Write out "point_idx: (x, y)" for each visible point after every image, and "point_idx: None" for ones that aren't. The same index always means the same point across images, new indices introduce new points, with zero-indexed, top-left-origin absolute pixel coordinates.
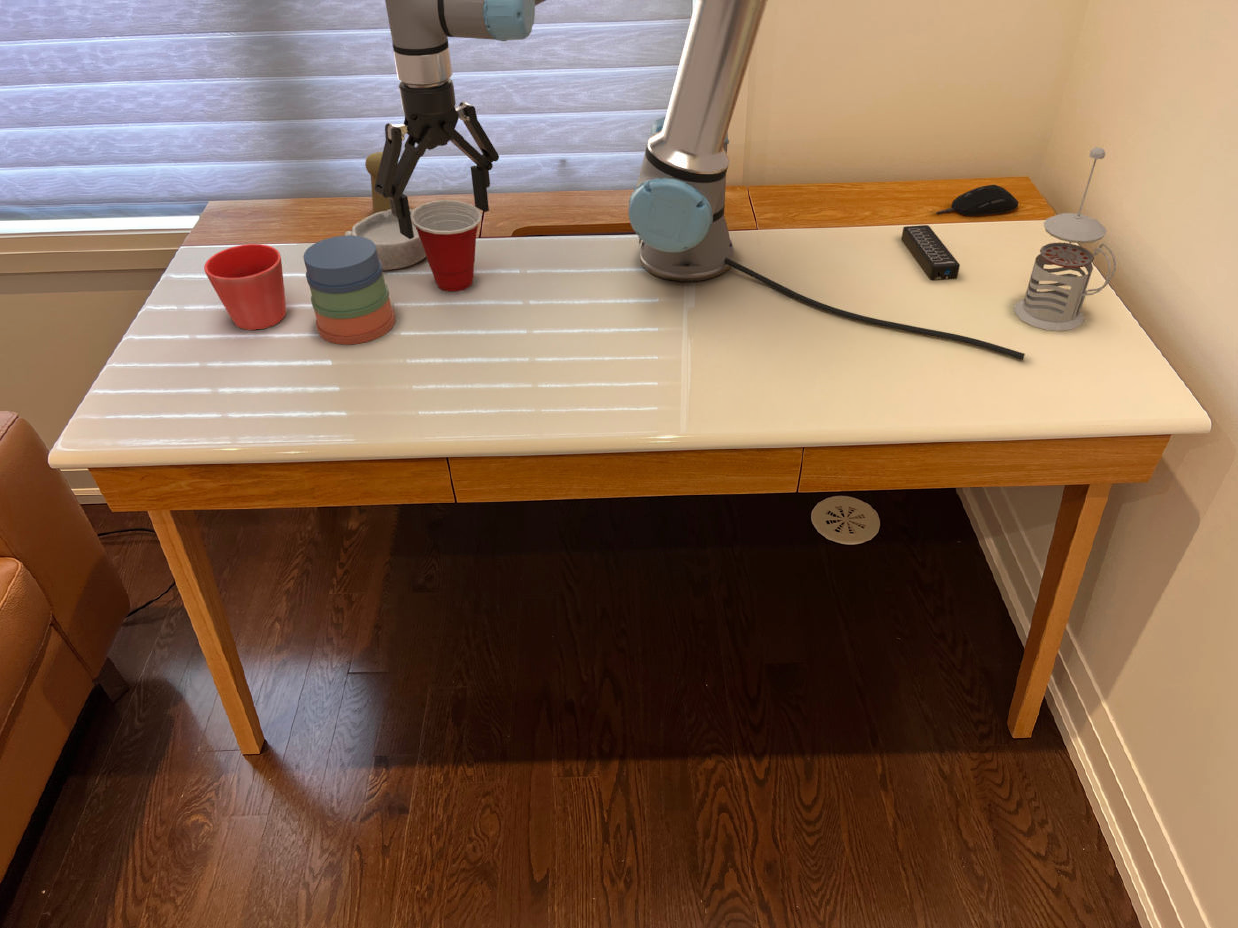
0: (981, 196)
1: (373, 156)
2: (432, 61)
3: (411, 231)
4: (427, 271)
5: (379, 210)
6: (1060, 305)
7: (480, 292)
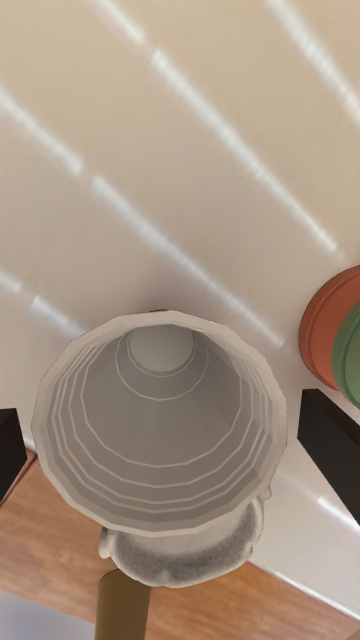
0: None
1: None
2: None
3: (322, 403)
4: None
5: (145, 598)
6: None
7: (142, 280)
